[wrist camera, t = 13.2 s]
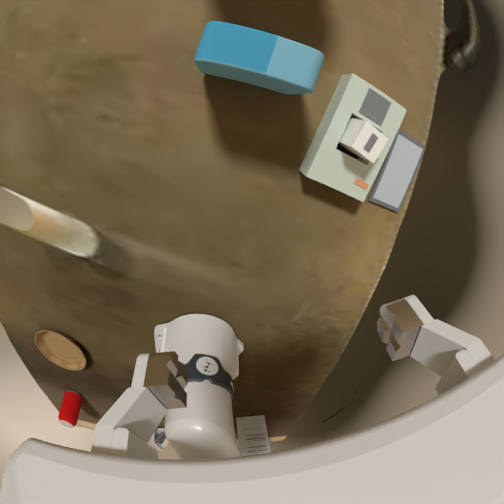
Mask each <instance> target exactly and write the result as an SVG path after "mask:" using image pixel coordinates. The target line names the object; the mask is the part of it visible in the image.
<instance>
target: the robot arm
mask: <svg viewBox="0 0 504 504" xmlns="http://www.w3.org/2000/svg"><path fill="white" fill-rule="evenodd" d="M380 314H381V317H380V318H379V319H378V323H377V329H378V334H379V336H380V338H381V340H382V341H383V342H384V343H386V344H387V351H388V353H389V355H390V357H391V359H392V360H393V361H395V360H398V359H401V358H403V357H406V356H409V355H410V356H411V357H413V358H414V359H416V360H417V361H419V362H420V363H422V364H423V365H425V366H426V367H427V368H429V369H430V370H432V371H433V372H435V373H436V374H438V375H439V376H441V377H442V378H441V379H440V381H439V382H438V384H437V386H436V391H437V392H438V394H439V395H438V396H436V397H435V398H433V399H431V400H429V401H427V402H425V403H423V404H421V405H419V406H417V407H414V408H412V409H410V410H408V411H406V412H404V413H401V414H399V415H397V416H394V417H392V418H390V419H387V420H384V421H382V422H379V423H377V424H374V425H371V426H369V427H366V428H363V429H361V430H357V431H354V432H352V433H348V434H345V435H342V436H338V437H335V438H332V439H328V440H324V441H321V442H317V443H313V444H309V445H305V446H300V447H295V448H291V449H286V450H280V451H275V452H269V453H263V454H256V455H248V456H242V455H241V452H240V449H239V447H238V443H237V440H236V436H235V430H234V421H233V412H232V400H233V393H234V386H233V380H234V379H235V378H236V377H237V376H238V374H239V361H238V355H239V354H240V353H241V352H242V351H243V350H244V344H243V343H242V342H241V341H240V340H238V339H237V338H236V336H235V333H234V331H233V329H232V328H231V327H230V325H228V324H227V323H226V322H225V321H223V320H221V319H219V318H217V317H214V316H210V315H205V314H189V315H184V316H181V317H179V318H176V319H175V320H173V321H171V322H169V323H166V324H161V325H157V326H155V328H154V335H155V346H156V353H148V354H139V356H138V357H137V361H136V366H135V371H134V375H133V381H132V386H131V388H127V390H126V391H125V392H124V393H123V394H122V395H121V397H120V398H119V399H118V400H117V401H116V402H115V403H114V405H113V406H112V407H111V408H110V409H109V410H108V412H107V413H106V414H105V415H104V416H103V417H102V418H101V420H100V421H99V422H98V423H97V424H96V427H95V432H94V438H93V444H92V449H91V452H88V451H82V450H77V449H73V448H68V447H64V446H60V445H56V444H52V443H48V442H45V441H42V440H38V439H35V438H29V439H27V440H26V441H24V442H23V443H22V444H21V445H20V446H19V447H18V448H17V449H16V450H15V451H14V452H13V453H12V454H11V456H10V457H9V459H8V461H7V464H6V468H5V471H4V476H3V480H2V485H1V490H0V504H504V354H502V355H501V356H500V357H498V358H497V359H496V360H494V358H493V357H492V356H491V354H490V353H489V351H488V350H487V348H486V347H485V345H484V344H483V343H482V341H481V340H480V339H479V338H477V337H474V336H472V335H470V334H468V333H466V332H464V331H461V330H459V329H457V328H455V327H452V326H450V325H448V324H446V323H444V322H442V321H440V320H434V319H433V318H432V317H431V316H430V314H429V313H428V311H427V310H426V309H425V308H424V306H423V305H422V304H421V302H420V301H419V300H418V299H417V297H416V296H414V295H411V296H408V297H405V298H403V299H399V300H396V301H393V302H390V303H387V304H384V305H382V306H381V308H380ZM164 415H165V425H164V430H165V435H166V438H167V440H168V441H169V443H170V444H171V445H172V447H173V448H174V449H175V450H176V452H177V454H178V455H179V457H180V459H181V460H161V459H158V451H157V450H156V449H155V448H153V447H152V446H150V445H149V444H147V443H148V441H149V439H150V438H151V436H152V435H153V433H154V431H155V430H156V428H157V427H158V425H159V423H160V422H161V420H162V418H163V417H164Z"/></svg>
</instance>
